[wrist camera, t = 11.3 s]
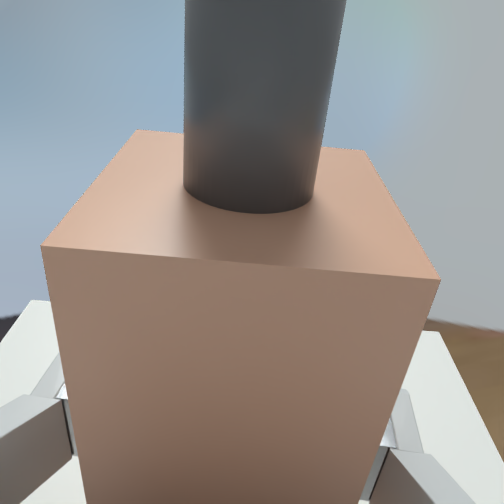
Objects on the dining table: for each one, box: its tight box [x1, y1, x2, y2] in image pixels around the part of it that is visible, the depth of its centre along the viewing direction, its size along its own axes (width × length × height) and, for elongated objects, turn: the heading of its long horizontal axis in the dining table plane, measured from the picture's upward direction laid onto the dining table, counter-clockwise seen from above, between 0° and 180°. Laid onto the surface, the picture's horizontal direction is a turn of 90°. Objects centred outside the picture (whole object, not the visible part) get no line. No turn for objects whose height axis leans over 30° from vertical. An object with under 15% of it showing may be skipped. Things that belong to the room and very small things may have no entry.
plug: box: [40, 0, 441, 504], centre depth 9 cm, size 4×4×15 cm
